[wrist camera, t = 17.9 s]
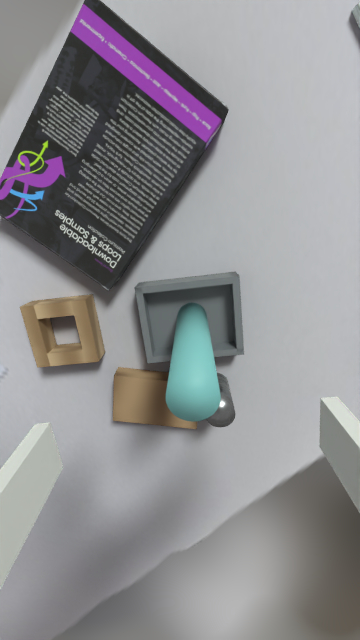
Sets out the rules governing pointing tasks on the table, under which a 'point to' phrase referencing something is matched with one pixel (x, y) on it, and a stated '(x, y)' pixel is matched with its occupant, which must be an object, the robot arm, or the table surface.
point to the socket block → (43, 335)
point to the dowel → (192, 367)
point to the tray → (208, 290)
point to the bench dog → (223, 405)
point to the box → (106, 146)
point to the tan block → (144, 399)
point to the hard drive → (357, 13)
